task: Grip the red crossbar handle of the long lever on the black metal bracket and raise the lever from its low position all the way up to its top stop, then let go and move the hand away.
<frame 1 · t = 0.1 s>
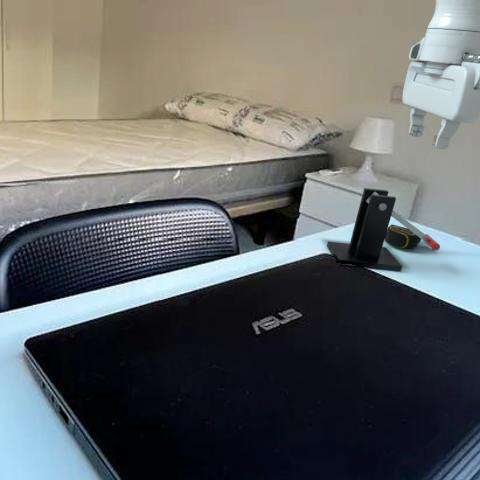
hand: (426, 141, 82), 26 cm above the table, tool pointing down, fingers open, 8 cm apart
tape measure: (398, 245, 109), on the table
lever: (403, 221, 96), point 9 cm above the table, hinge at -30.0°
bracket: (362, 258, 100), on the table
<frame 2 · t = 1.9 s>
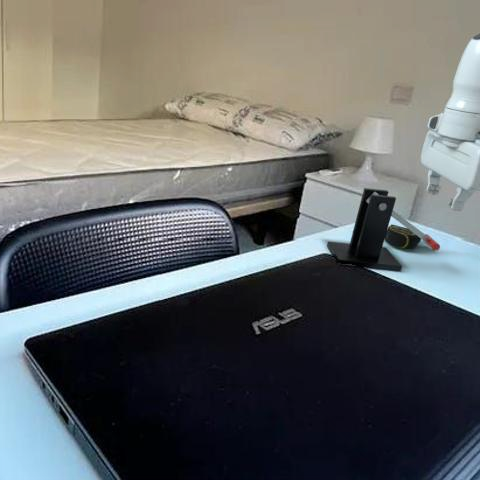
hand: (442, 201, 94), 13 cm above the table, tool pointing down, fingers open, 8 cm apart
nothing on the table moved.
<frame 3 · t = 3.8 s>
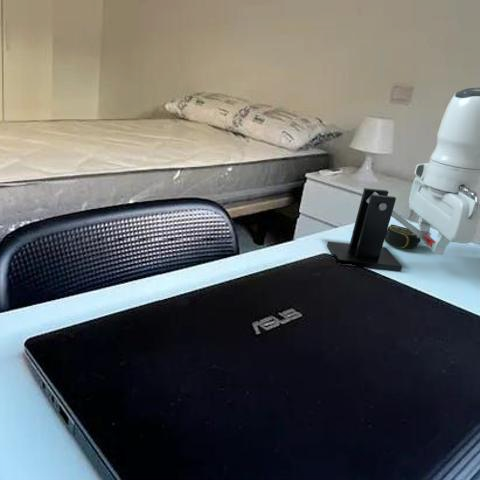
hand: (429, 246, 98), 4 cm above the table, tool pointing down, fingers closed on lever, 5 cm apart
lever: (403, 221, 96), point 9 cm above the table, hinge at -30.0°, touching gripper
everything else where it was.
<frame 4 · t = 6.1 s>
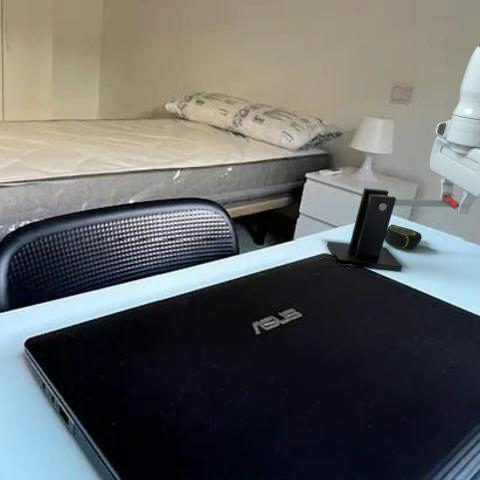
hand: (452, 206, 95), 13 cm above the table, tool pointing down, fingers closed on lever, 5 cm apart
lever: (413, 202, 95), point 13 cm above the table, hinge at 4.8°, touching gripper
everything else where it was.
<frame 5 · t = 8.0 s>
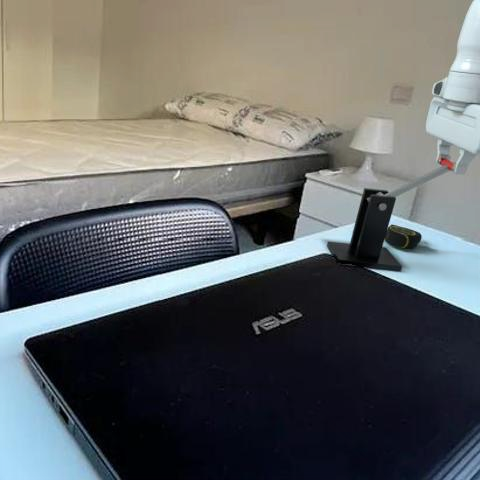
hand: (449, 168, 92), 20 cm above the table, tool pointing down, fingers closed on lever, 5 cm apart
lever: (411, 185, 94), point 16 cm above the table, hinge at 35.9°, touching gripper
everything else where it was.
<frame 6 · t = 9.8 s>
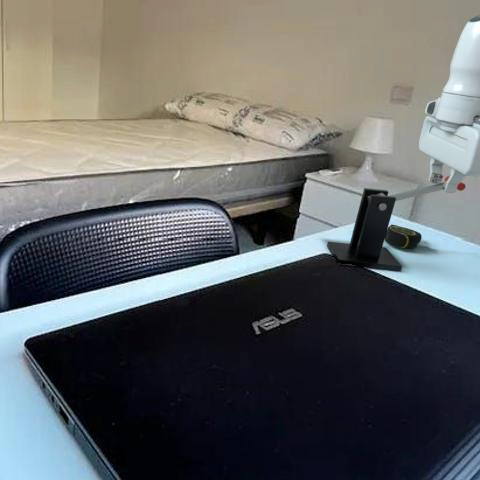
hand: (441, 187, 93), 16 cm above the table, tool pointing down, fingers open, 4 cm apart
lever: (413, 193, 94), point 14 cm above the table, hinge at 21.5°
everything else where it was.
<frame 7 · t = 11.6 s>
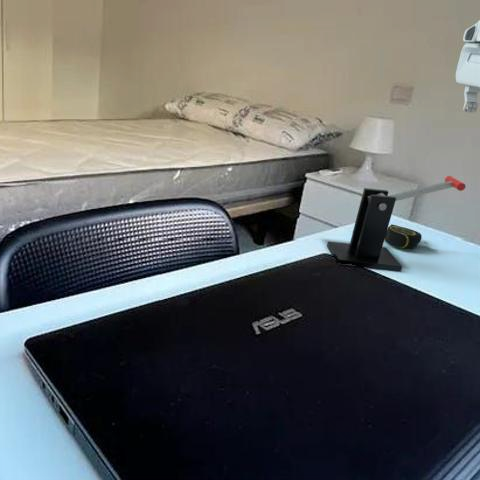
nothing on the table moved.
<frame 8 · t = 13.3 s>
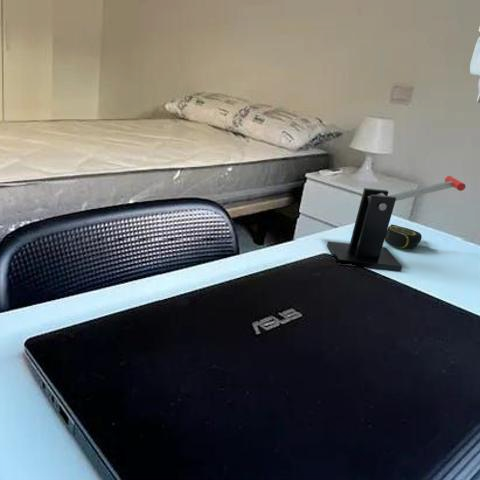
nothing on the table moved.
at the end: lever at +22° (first picture: -30°) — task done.
